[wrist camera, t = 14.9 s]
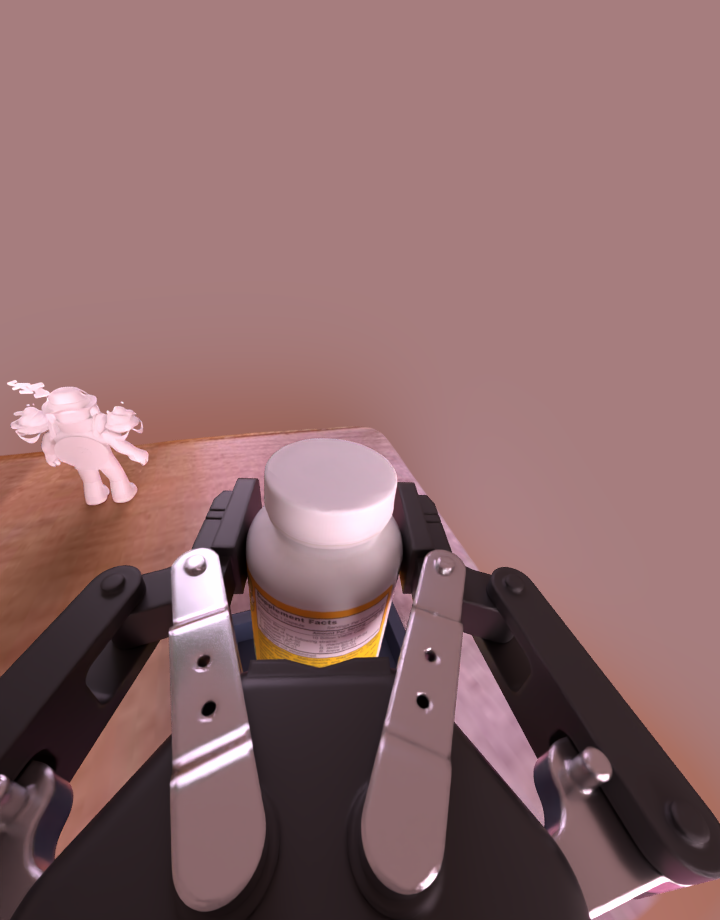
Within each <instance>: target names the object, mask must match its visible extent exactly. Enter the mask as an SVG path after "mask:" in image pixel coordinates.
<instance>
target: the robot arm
mask: <svg viewBox="0 0 720 920" xmlns="http://www.w3.org/2000/svg"><path fill="white" fill-rule="evenodd" d="M261 508H262V503H261V494H260V485H259V480H258V478H238V479H237V481H236V484H235V486H234V489H233V491H223V492H222V493H220V494H219V495H218V496H217V497H216V498H215V499H214V500H213V503H212V505H211V507H210V509H209V511H208V514H207V516H206V520H204V522H203V525H202V527H201V529H200V531H199V533H198V536H197V538H196V540H195V542H194V544H193V547H192V549H191V550H190V551H188V552H186V553H184V554H182V555H181V556H180V557H178V558H177V559H176V561H175V562H174V563H173V565H172V566H171V567H169V568H166V569H163V570H159V571H155V572H151V573H147V574H143V575H141V572H140V571H139V570H138V569H137V568H136V567H133V566H127V565H125V566H117V567H114V568H111V569H108V570H106V571H104V572H102V573H101V574H99V575H98V576H97V577H95V578H94V579H93V580H92V581H91V582H90V583H89V584H88V585H87V586H86V587H85V588H84V590H83V591H82V592H81V593H80V594H79V595H78V596H77V597H76V598H75V599H74V600H73V601H72V602H71V603H70V604H69V605H68V606H67V607H66V609H65V610H64V611H63V612H62V613H61V614H60V615H59V616H58V617H57V618H56V619H55V620H54V621H53V622H52V623H51V624H50V625H49V626H48V628H47V629H46V630H45V631H44V632H43V633H42V634H41V635H40V636H39V637H38V638H37V639H36V640H35V641H34V642H33V643H32V644H31V645H30V647H29V648H28V649H27V650H26V651H25V652H24V653H23V654H22V655H21V656H20V657H19V658H18V659H17V660H16V661H15V662H14V663H13V664H12V666H11V667H10V668H9V669H8V670H7V671H6V672H5V673H4V674H3V675H2V676H1V677H0V920H591V919H592V918H594V917H596V916H598V915H600V914H602V913H604V912H606V911H608V910H610V909H612V908H614V907H616V906H618V905H620V904H622V903H624V902H626V901H628V900H630V899H640V898H644V897H648V896H652V895H656V894H660V893H664V892H668V891H672V890H676V889H680V888H684V887H688V886H692V885H696V884H700V883H704V882H708V881H712V880H716V879H720V823H719V822H718V820H717V819H716V817H715V816H714V814H713V813H712V812H711V810H710V809H709V808H708V807H707V805H706V804H705V803H704V801H703V800H702V799H701V797H700V796H699V795H698V794H697V792H696V791H695V790H694V789H693V787H692V786H691V785H690V783H689V782H688V781H687V780H686V778H685V777H684V776H683V774H682V773H681V772H680V771H679V769H678V768H677V767H676V765H675V764H674V763H673V762H672V760H671V759H670V758H669V756H668V755H667V754H666V753H665V751H664V750H663V749H662V747H661V746H660V745H659V744H658V742H657V741H656V740H655V739H654V737H653V736H652V735H651V733H650V732H649V731H648V730H647V728H646V727H645V726H644V724H643V723H642V722H641V721H640V719H639V718H638V717H637V715H636V714H635V713H634V712H633V710H632V709H631V708H630V706H629V705H628V704H627V703H626V702H625V700H624V699H623V698H622V696H621V695H620V694H619V692H618V691H617V690H616V689H615V687H614V686H613V685H612V683H611V682H610V681H609V680H608V678H607V677H606V676H605V675H604V673H603V672H602V671H601V669H600V668H599V667H598V666H597V664H596V663H595V662H594V660H593V659H592V658H591V656H590V655H589V654H588V653H587V651H586V650H585V649H584V647H583V646H582V645H581V644H580V643H579V641H578V640H577V639H576V637H575V636H574V635H573V633H572V632H571V631H570V630H569V628H568V627H567V626H566V625H565V623H564V622H563V621H562V619H561V618H560V617H559V615H558V614H557V613H556V612H555V610H554V609H553V608H552V606H551V605H550V604H549V603H548V601H547V600H546V599H545V598H544V596H543V595H542V594H541V592H540V591H539V590H538V588H537V587H536V586H535V585H534V583H533V582H532V581H531V580H530V579H529V578H528V577H527V576H526V575H525V574H523V573H522V572H520V571H518V570H516V569H513V568H509V567H501V568H498V569H496V570H494V571H493V573H492V575H490V574H486V573H482V572H479V571H475V570H472V569H470V568H468V567H466V566H465V565H464V563H463V561H462V560H461V559H460V558H459V557H458V556H457V555H455V554H454V553H452V551H451V548H450V545H449V542H448V540H447V537H446V534H445V531H444V529H443V526H442V523H441V520H440V517H439V515H438V512H437V509H436V506H435V504H434V503H433V502H432V500H431V499H430V498H429V497H428V496H427V495H418V493H417V490H416V486H415V484H414V483H412V482H397V488H396V493H395V499H394V509H393V513H392V516H393V517H394V519H395V521H396V523H397V525H398V527H399V529H400V532H401V536H402V541H403V558H402V563H401V567H400V572H399V575H400V580H401V586H402V591H403V594H412V599H413V604H412V608H411V612H410V616H409V620H408V624H407V628H406V632H405V636H404V640H403V644H402V648H401V652H400V656H399V660H398V664H397V668H396V669H394V668H390V661H389V657H355V658H352V659H349V660H346V661H342V662H339V663H336V664H332V665H329V666H326V667H320V668H319V667H314V666H310V665H307V664H303V663H299V662H295V661H291V660H287V659H258V660H250V663H249V668H248V671H246V672H243V670H242V666H241V661H240V656H239V651H238V645H237V640H236V635H235V630H234V624H233V619H232V614H231V609H230V605H231V601H232V598H233V594H243V592H244V588H245V584H246V580H247V565H246V539H247V534H248V531H249V528H250V525H251V523H252V521H253V519H254V518H255V516H256V515H257V513H258V512H259V511H260V509H261ZM463 632H464V633H467V634H471V635H472V636H473V638H474V640H475V642H476V644H477V646H478V648H479V650H480V652H481V653H482V655H483V657H484V659H485V661H486V663H487V665H488V667H489V668H490V670H491V672H492V674H493V676H494V678H495V680H496V682H497V683H498V685H499V687H500V689H501V691H502V693H503V695H504V697H505V699H506V700H507V702H508V704H509V706H510V708H511V710H512V712H513V714H514V715H515V717H516V719H517V721H518V723H519V725H520V727H521V729H522V730H523V732H524V734H525V736H526V738H527V740H528V742H529V744H530V746H531V747H532V749H533V751H534V753H535V755H536V757H537V759H538V760H537V761H536V763H535V766H534V783H535V787H536V790H537V793H538V795H539V798H540V800H541V803H542V807H543V811H544V818H545V825H544V827H543V826H542V824H541V823H540V822H539V821H538V820H537V818H536V817H535V816H534V815H533V814H532V813H531V811H530V810H529V809H528V808H527V807H526V806H525V804H524V803H523V802H522V801H521V800H520V799H519V797H518V796H517V795H516V794H515V793H514V791H513V790H512V789H511V788H510V787H509V786H508V784H507V783H506V782H505V781H504V780H503V779H502V777H501V776H500V775H499V774H498V773H497V771H496V770H495V769H494V768H493V767H492V766H491V764H490V763H489V762H488V761H487V760H486V759H485V757H484V756H483V755H482V754H481V753H480V752H479V750H478V749H477V748H476V747H475V746H474V744H473V743H472V742H471V741H470V740H469V739H468V737H467V736H466V735H465V734H464V733H463V732H462V730H461V729H460V728H459V727H458V726H457V724H456V723H455V722H454V716H455V706H456V696H457V687H458V677H459V667H460V657H461V647H462V637H463ZM167 637H169V659H170V691H171V724H172V734H171V735H170V736H169V737H168V738H167V739H166V740H165V741H164V742H163V744H162V745H161V746H160V747H159V748H158V749H157V750H156V751H155V752H154V753H153V754H152V755H151V757H150V758H149V759H148V760H147V761H146V762H145V763H144V764H143V765H142V766H141V767H140V768H139V770H138V771H137V772H136V773H135V774H134V775H133V776H132V777H131V778H130V779H129V780H128V781H127V782H126V784H125V785H124V786H123V787H122V788H121V789H120V790H119V791H118V792H117V793H116V794H115V795H114V797H113V798H112V799H111V800H110V801H109V802H108V803H107V804H106V805H105V806H104V807H103V808H102V809H101V811H100V812H99V813H98V814H97V815H96V816H95V817H94V818H93V819H92V820H91V821H90V822H89V824H88V825H87V826H86V827H85V828H84V829H83V830H82V831H81V832H80V833H79V834H78V835H77V836H76V838H75V839H74V840H73V841H72V842H71V843H70V844H69V845H68V846H67V847H66V848H65V849H64V850H63V852H62V853H61V854H60V855H59V856H58V857H57V858H56V859H55V849H56V845H57V841H58V838H59V836H60V833H61V831H62V829H63V827H64V825H65V823H66V820H67V818H68V816H69V814H70V811H71V808H72V803H73V790H72V787H71V785H70V781H71V780H72V778H73V776H74V775H75V773H76V772H77V770H78V769H79V767H80V765H81V764H82V762H83V761H84V759H85V758H86V756H87V754H88V753H89V751H90V750H91V748H92V747H93V745H94V743H95V742H96V740H97V739H98V737H99V736H100V734H101V732H102V731H103V729H104V728H105V726H106V725H107V723H108V721H109V720H110V718H111V717H112V715H113V714H114V712H115V710H116V709H117V707H118V706H119V704H120V703H121V701H122V699H123V698H124V696H125V695H126V693H127V692H128V690H129V688H130V687H131V685H132V684H133V682H134V681H135V679H136V677H137V676H138V674H139V673H140V671H141V670H142V668H143V667H144V665H145V663H146V662H147V660H148V659H149V657H150V656H151V654H152V652H153V651H154V649H155V648H156V646H157V645H158V643H159V641H160V640H161V639H164V638H167Z"/></svg>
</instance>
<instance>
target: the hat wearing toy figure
mask: <svg viewBox="0 0 720 920" xmlns="http://www.w3.org/2000/svg"><path fill="white" fill-rule="evenodd" d="M16 382H17V381H16V380H14V381H11V382H8V383H7V384H8V385H11V386H15V387H14V388H12V389H13V390H16V389H19V388H22V389H24V391H19V392H20V394H29V393H30V394H31V393H33V391H35V393H36V394H34V396H35V398H40V397H44V396H46V397H47V396H48V395H49V396H48V398H49V399H50V400H48V398H47V401H46V402H45V403H44V404H43V405H42V411H41V410H38V409H36V408H34V407H27V408H25V409H24V411H18V412H15V413H14V415H15V416H18V415H22V417H20V418H19V419H18V420H16V421H14V422H12V423H11V425H10V427H11V428H12V429H18V430H16V431H15V432H16V433H17V434H18V436H19V437H20V438H21V439H23V440H24V441H26V442H28V443H34V442H36V441H37V440H38V439H39V436H40V434H41V433H42V432H45V431H47V430H49V431H47V432H46V433H45V434H44V435H43V437H42V443H41V449H42V451H43V452H44V453H45V457H46V462H47V463H48V464H49V465H51V466H53V467H55V466H56V465H60V464H61V463H60V461H62V462H65V463H67V464H69V465H72V466H75V469H77V470H78V473H79V475H80V477H81V479H82V480H83V486H84V495H85V500H86V503H87V504H88V505H97V504H100V503H103V502H105V501H106V499H107V495H108V494H109V489H108V487H107V486H105V485H103V484H102V481H101V477H100V474H99V470H101V471H102V472H103V473H104V474H105V476H107V477H108V478H109V480H110V487H111V493H112V498H113V500H114V502H117V503H123V502H127V501H130V500H131V499H132V498H133V497H134V495H135V494H136V493H137V487H136V486H135V484H133V483H131V482H129V481H128V478H127V476H126V474H125V472H124V470H123V468H122V466H121V465H120V463H119V462H118V460H117V459H116V457H115V456H114V455H113V453H112V451H111V449H110V446H111V447H112V448H113V449H114V450H115V451H117V452H119V453H122V454H125V455H128V457H129V458H130V459H131V460H133V461H136V462H139V463H141V464H142V465H143V466H144V465H145V463H147V462H148V453H147V451H145V450H142V449H139V448H136V447H135V446H134V445H132V444H131V443H129V442H128V441H125V439H126V438H127V436H128V434H129V430H131V429H133V427H135V426H137V425H138V424H139V421H140V422H141V429H139V430H136V429H133V430H135V431H136V432H138V433H142V432H143V424H142V421H141V420H139V418H137V417H136V416H134V415H133V414H136V413H134V411H133V410H126V409H125V408H124V407H121V406H117V407H116V406H115V407H114V409H113V411H112V412H109V411H108V410H107V414H108V415H106V414H103V413H101V412H100V410H99V407H98V405H97V404H96V402H97V399H96V397H95V396H93V395H88V394H87V393H86V392H84V391H83V390H81V391H83V392H84V393H86V394H87V395H85V394H83V393H81V391H80V389H79V388H76V387H62V388H58V389H56V390H54V391H53V392H51V393H49V392H48V391H46V390H43V389H42V388H40V387H44V384H43V383H42V382H41V383H37V384H32V385H30V383H17V384H13V383H16ZM25 386H27V387H28V388H27V387H25ZM32 390H33V391H32ZM121 403H123V402H121ZM29 405H30V404H27V406H29ZM33 405H34V404H33ZM125 431H128V432H127V433H126V434H125V435H124V436H122V435H121V432H125ZM37 433H39V434H38V435H37V436H36V437H34V438H31V439H28V438H24V437H22V436H25V435H26V434H31V435H32V434H37ZM58 459H59V460H60V461H59V460H58Z"/></svg>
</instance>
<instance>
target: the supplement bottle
mask: <svg viewBox="0 0 720 920" xmlns="http://www.w3.org/2000/svg"><path fill="white" fill-rule="evenodd" d="M396 488H397V476H396V472H395V470H394V468H393V466H392V465H391V464H390V462H389V461H388V460H387V459H386V458H385V457H384V456H382V455H381V454H379V453H378V452H376V451H375V450H373V449H371V448H369V447H367V446H364V445H362V444H359V443H356V442H352V441H347V440H342V439H333V438H313V439H306V440H301V441H297V442H294V443H291V444H289V445H286V446H284V447H282V448H281V449H279V450H278V451H276V452H275V453H274V454H273V455H272V456H271V457H270V459H269V460H268V462H267V464H266V466H265V471H264V504H265V505H264V506H263V507H262V508H261V509H260V511H259V512H258V513H257V515H256V516H255V518H254V519H253V521H252V523H251V525H250V528H249V531H248V534H247V539H246V565H247V577H248V585H249V596H250V608H251V618H252V628H253V638H254V648H255V655H256V660H258V659H287V660H291V661H295V662H299V663H303V664H307V665H310V666H314V667H319V668H320V667H326V666H329V665H332V664H336V663H339V662H342V661H346V660H349V659H352V658H355V657H378V655H379V651H380V647H381V643H382V639H383V635H384V631H385V627H386V623H387V618H388V614H389V610H390V606H391V602H392V598H393V594H394V590H395V587H396V583H397V579H398V576H399V572H400V567H401V563H402V558H403V541H402V536H401V532H400V529H399V527H398V525H397V523H396V521H395V519H394V517H393V516H392V513H393V509H394V499H395V493H396Z"/></svg>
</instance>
